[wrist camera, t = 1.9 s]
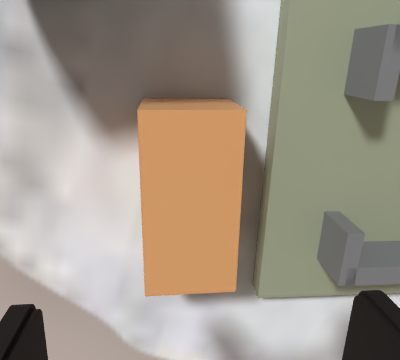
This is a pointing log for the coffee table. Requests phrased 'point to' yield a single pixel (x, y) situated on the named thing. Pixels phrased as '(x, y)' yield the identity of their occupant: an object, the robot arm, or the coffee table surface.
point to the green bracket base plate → (332, 152)
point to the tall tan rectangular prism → (190, 193)
